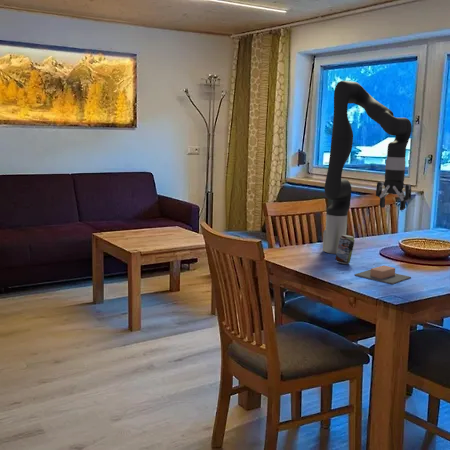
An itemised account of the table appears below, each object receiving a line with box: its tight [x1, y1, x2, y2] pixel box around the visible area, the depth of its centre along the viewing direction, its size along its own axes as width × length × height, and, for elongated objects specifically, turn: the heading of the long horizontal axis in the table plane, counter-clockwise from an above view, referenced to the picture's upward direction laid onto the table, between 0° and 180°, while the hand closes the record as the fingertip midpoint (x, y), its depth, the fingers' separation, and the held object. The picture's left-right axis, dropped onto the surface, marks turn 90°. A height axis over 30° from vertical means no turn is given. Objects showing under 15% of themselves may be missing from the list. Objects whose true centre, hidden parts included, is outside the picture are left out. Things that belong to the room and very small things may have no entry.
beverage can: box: [335, 234, 355, 265], centre depth 239 cm, size 6×7×12 cm
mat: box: [354, 269, 412, 285], centre depth 219 cm, size 16×14×1 cm
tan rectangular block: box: [370, 265, 396, 279], centre depth 219 cm, size 9×5×3 cm, turn 132°
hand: (392, 208), depth 231 cm, fingers open, 8 cm apart
